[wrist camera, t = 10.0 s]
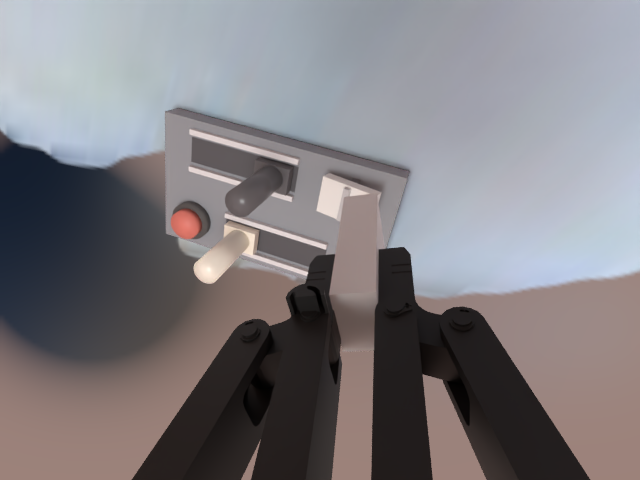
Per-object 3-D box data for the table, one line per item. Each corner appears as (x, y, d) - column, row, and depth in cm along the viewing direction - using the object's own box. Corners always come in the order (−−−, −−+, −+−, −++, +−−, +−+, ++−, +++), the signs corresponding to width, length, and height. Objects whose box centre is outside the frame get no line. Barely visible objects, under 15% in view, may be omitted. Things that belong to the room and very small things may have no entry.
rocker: (322, 206, 45) (313, 212, 43) (329, 172, 43) (320, 177, 41) (371, 226, 43) (364, 233, 41) (381, 192, 41) (374, 198, 39)
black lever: (256, 182, 46) (218, 211, 39) (259, 157, 45) (220, 182, 37) (289, 192, 45) (256, 223, 38) (293, 166, 44) (260, 194, 36)
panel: (177, 225, 56) (155, 240, 52) (177, 107, 48) (152, 114, 44) (373, 289, 51) (366, 311, 47) (409, 171, 43) (405, 185, 39)
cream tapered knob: (227, 241, 51) (188, 277, 43) (229, 220, 49) (188, 254, 42) (256, 251, 50) (221, 289, 43) (259, 230, 49) (223, 266, 41)
